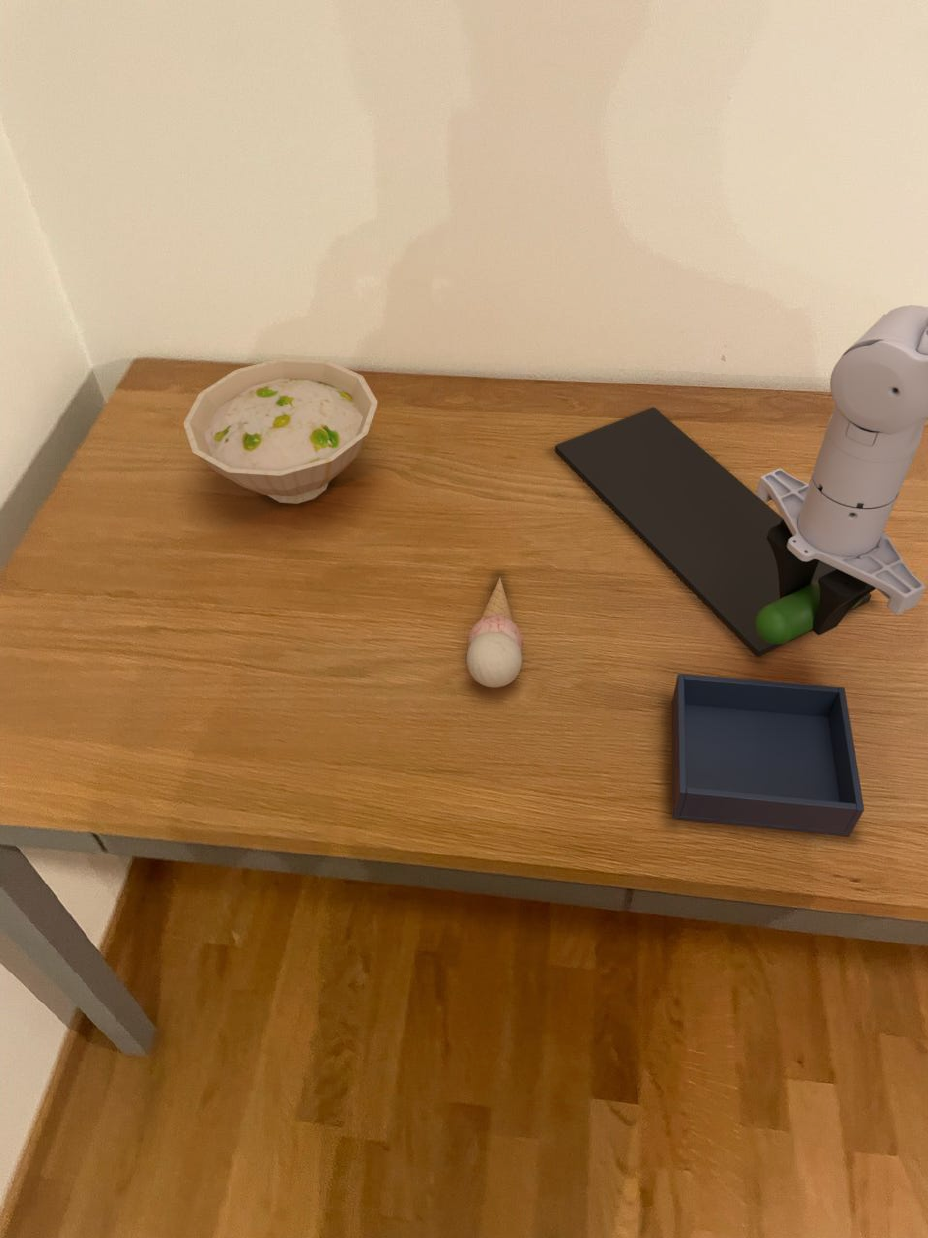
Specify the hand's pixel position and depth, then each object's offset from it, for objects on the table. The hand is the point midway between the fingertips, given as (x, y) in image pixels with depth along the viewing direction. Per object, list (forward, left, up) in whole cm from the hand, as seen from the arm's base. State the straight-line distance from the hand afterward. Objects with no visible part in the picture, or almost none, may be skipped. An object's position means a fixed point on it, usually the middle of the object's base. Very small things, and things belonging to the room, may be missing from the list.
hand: (807, 612), depth 73 cm
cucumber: (0, 0, +1) cm, 1 cm away
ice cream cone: (+15, +19, -8) cm, 26 cm away
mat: (+19, -5, -8) cm, 21 cm away
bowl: (+45, +27, -8) cm, 54 cm away
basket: (-6, +8, -8) cm, 13 cm away
